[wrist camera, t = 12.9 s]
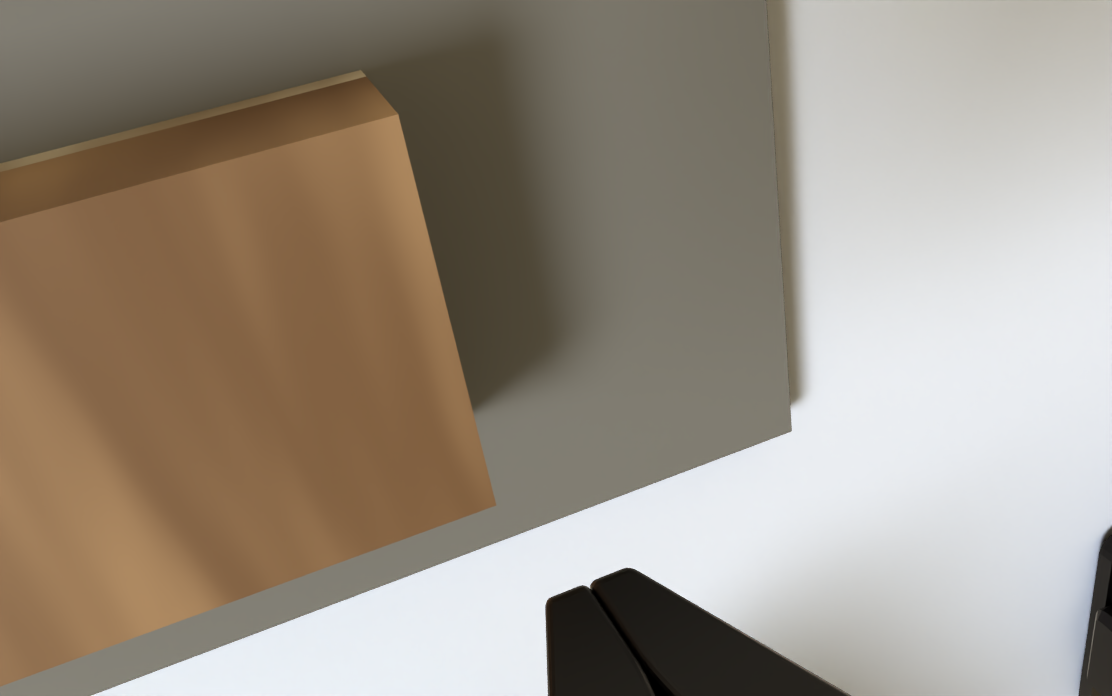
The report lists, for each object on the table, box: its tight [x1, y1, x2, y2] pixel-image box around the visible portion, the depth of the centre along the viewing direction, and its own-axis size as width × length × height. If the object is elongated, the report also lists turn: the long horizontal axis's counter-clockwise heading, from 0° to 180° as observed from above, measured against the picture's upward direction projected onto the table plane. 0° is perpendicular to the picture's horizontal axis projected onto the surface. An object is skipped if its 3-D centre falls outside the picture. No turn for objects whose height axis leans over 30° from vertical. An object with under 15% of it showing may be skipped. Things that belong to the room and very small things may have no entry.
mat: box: [0, 0, 792, 696], centre depth 16 cm, size 16×11×1 cm
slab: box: [0, 70, 496, 687], centre depth 14 cm, size 2×6×9 cm
